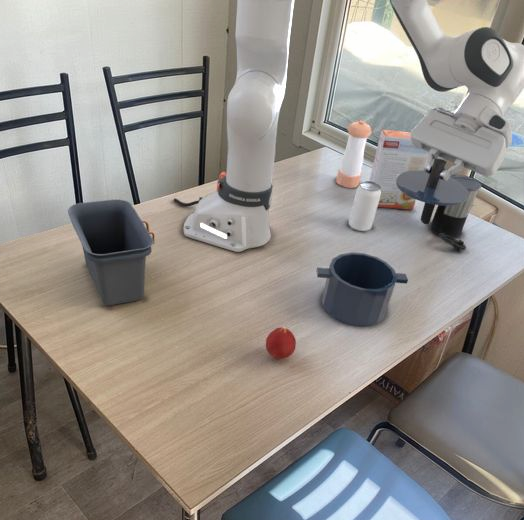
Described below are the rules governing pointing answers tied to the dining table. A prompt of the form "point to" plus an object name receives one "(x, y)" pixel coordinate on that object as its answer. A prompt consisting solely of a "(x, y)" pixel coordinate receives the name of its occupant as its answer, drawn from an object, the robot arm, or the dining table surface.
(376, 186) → the can
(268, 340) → the onion
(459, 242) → the milk frother
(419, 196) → the lid
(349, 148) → the pepper shaker
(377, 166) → the cracker box
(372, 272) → the pot
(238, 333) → the dining table surface
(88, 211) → the storage bin
